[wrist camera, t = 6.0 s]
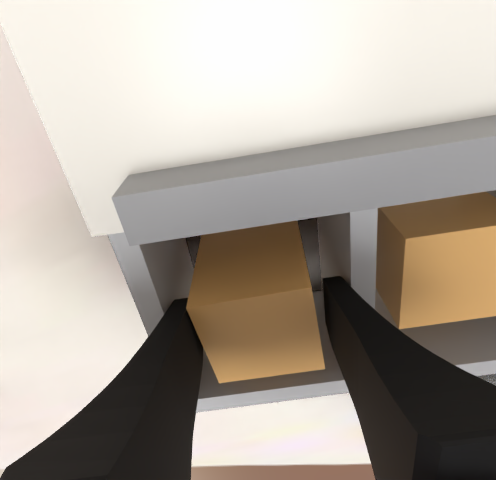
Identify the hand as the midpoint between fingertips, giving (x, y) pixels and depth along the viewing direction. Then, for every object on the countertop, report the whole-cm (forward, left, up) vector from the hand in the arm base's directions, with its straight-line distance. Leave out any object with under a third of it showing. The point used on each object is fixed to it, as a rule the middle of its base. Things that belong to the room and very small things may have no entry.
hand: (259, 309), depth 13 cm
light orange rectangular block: (0, 0, -4) cm, 4 cm away
